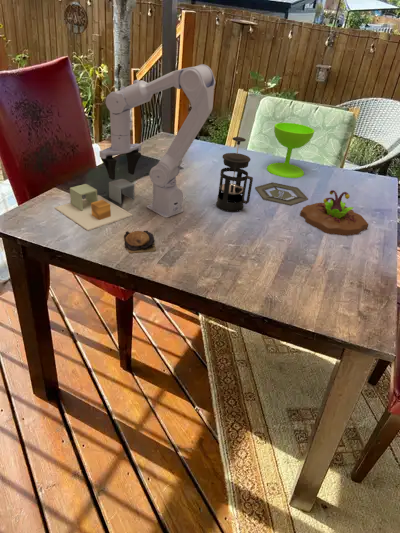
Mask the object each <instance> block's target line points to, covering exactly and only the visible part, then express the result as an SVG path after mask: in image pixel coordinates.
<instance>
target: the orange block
mask: <svg viewBox="0 0 400 533" xmlns="http://www.w3.org/2000/svg"><path fill="white" fill-rule="evenodd" d="M91 210H92V216H94V217H96V218H97V219H99V220H101V219H104V218H107V217H110V216H111V210H110V204H109V203H107V202H105V201H104V200H100V201H96V202H93V203H91Z"/></svg>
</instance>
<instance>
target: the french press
mask: <svg viewBox="0 0 400 533" xmlns="http://www.w3.org/2000/svg"><path fill="white" fill-rule="evenodd" d="M232 140H233V141H235V142H236V145H237V148H236V152H228V153H224V154H222V159H223V165H224V166H226V167H223V168H222V169H220V173H219V174H220V178H219V187H218V194H217V198H216V199H217V200H216V204H215V206H216V208H218V209H219V210H221V211H224V212H229V213H237V212H240V211H243V209H244V207H245V206H244V205H247V204H249V202H250V198H251V192H252V186H253V181H254V180H253V179H254V178H253V177H252V176H250V175H249V172H248V171H246V168H248V167H249V162H251V159H252V158H250V156H248V155H245V154H244V153H243V154H242V153H239V147H240V144H241V142H242V143H243V142H246V141H247V140H246V139H245V138H244V137H241V136H234V137H232ZM244 169H245V170H244ZM226 172H233V176H231V175H230V176H229V175H227V174H224V173H226ZM235 173H237V174H235ZM235 175H236V176H235ZM243 175H244V176H243ZM248 180H249V184H248V191H247V194H246V189H247V188H246V187H247V183H248ZM223 181H224V182H223ZM234 182H235V183H234ZM242 182H243V186H241V184H242ZM245 195H246V200H245Z"/></svg>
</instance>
